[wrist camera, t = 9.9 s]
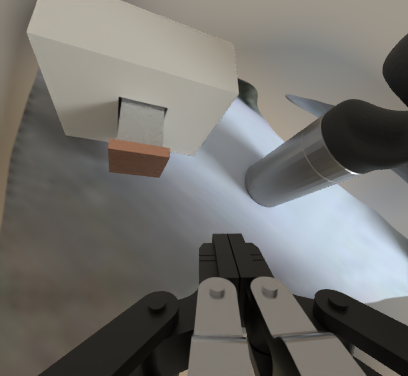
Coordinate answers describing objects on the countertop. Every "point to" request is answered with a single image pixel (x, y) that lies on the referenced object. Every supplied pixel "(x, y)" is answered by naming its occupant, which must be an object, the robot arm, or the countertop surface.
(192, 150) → the key box
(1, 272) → the countertop surface
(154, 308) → the robot arm
